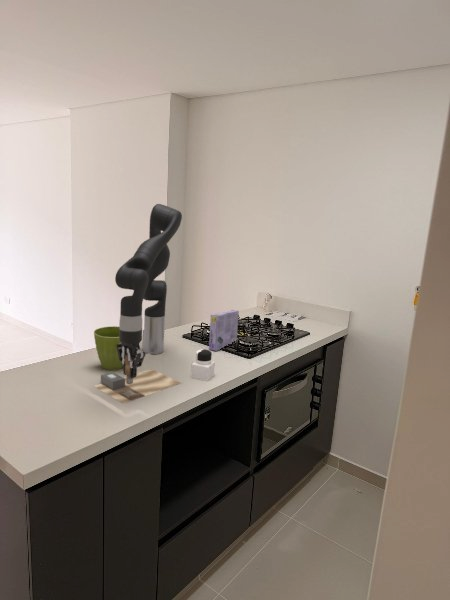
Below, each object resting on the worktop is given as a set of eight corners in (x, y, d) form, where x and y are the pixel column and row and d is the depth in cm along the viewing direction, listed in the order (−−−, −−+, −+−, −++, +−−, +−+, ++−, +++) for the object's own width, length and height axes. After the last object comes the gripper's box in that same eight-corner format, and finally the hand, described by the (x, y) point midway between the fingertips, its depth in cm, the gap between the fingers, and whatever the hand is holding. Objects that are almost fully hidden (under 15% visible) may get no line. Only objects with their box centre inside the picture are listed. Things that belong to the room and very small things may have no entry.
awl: (123, 382, 143) (123, 354, 141) (130, 380, 145) (131, 353, 143) (128, 385, 141) (129, 357, 139) (136, 383, 143) (137, 355, 141)
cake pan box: (230, 341, 216) (232, 308, 212) (238, 343, 213) (241, 310, 210) (207, 349, 201) (209, 314, 197) (215, 352, 198) (218, 316, 194)
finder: (100, 382, 151) (100, 373, 150) (113, 379, 155) (113, 370, 154) (112, 390, 146) (112, 380, 145) (124, 386, 149) (125, 377, 149)
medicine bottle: (213, 378, 166) (215, 349, 164) (207, 384, 160) (209, 355, 157) (197, 375, 168) (199, 346, 166) (190, 381, 162) (191, 351, 159)
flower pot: (139, 371, 168) (140, 333, 165) (106, 379, 157) (107, 339, 154) (118, 360, 178) (119, 324, 175) (86, 368, 167) (86, 330, 164)
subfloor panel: (93, 389, 148) (93, 385, 148) (151, 372, 167) (151, 369, 167) (122, 407, 137) (122, 403, 136) (181, 386, 156) (181, 383, 156)
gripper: (153, 330, 137) (151, 379, 141) (127, 321, 147) (126, 367, 150) (134, 334, 132) (133, 385, 135) (109, 324, 141) (108, 372, 144)
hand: (129, 375), depth 143 cm, fingers closed on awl, 3 cm apart
